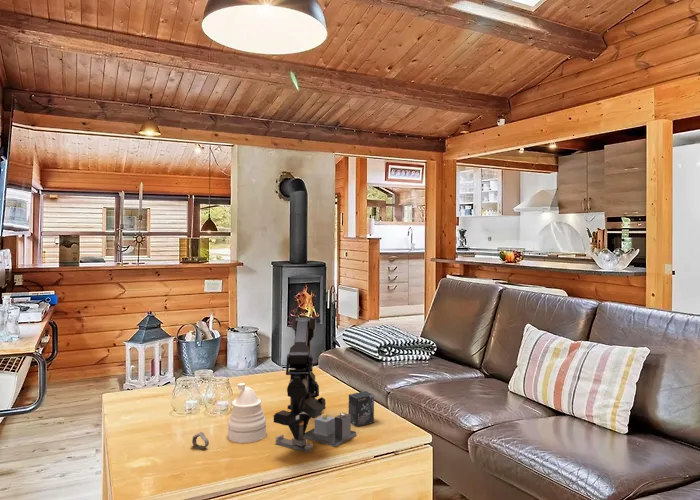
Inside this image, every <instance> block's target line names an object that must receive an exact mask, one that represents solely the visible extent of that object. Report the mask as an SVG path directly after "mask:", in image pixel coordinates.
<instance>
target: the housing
mask: <svg viewBox="0 0 700 500" xmlns="http://www.w3.org/2000/svg"><path fill="white" fill-rule="evenodd" d="M314 428H315V432H316V433H319V434H323V435H328V434H330V433H332V432H333V431H335V417H333V416H329V415H328V413H323V412H322V414H321V415H320V416H317V417H316V418H314Z"/></svg>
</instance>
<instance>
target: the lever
mask: <svg viewBox="0 0 700 500" xmlns="http://www.w3.org/2000/svg"><path fill="white" fill-rule="evenodd" d="M303 424H304V421H303V420H302V422H301V423H300V424H299V435H298V439H297V440H296V439H295V438H294V437H293V438H291V440H292V444H295V445H298V446H301V447H302V446H304V445H307V439H305V438H303Z"/></svg>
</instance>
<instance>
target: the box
mask: <svg viewBox="0 0 700 500" xmlns="http://www.w3.org/2000/svg"><path fill="white" fill-rule="evenodd" d="M348 414H350V415H351V426H354V427H355V428H357V427H361V426H366V425H369V424H370V425H371V424H374V423H375V421H374V420H375V395H374V394H373V393H372V392H368V391H366V390H365V391H359V392H355V393H354V392H353V393H350V394H348Z"/></svg>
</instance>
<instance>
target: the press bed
mask: <svg viewBox="0 0 700 500" xmlns="http://www.w3.org/2000/svg"><path fill="white" fill-rule="evenodd" d="M334 418H335V431H333V432H332V433H330V434H328V435H323V434H319V433H316V432H315V427H314V428H311V429H310V430H307V431H305V434H304V436H303V438H304V439H306V440H308V441H309V440H310V441H312V442H316V443H320V444H324V445H327V446H329V447H333V448H337V447H339V446H340V445H342V444H345V442H347V441H350V440H351V439H353V438H354V437H356V436H357V431H354V430H352V429H351V426H352V424H351V415H350V414H349V413H346V412H343V411H342V412H340V413H339V414H338V415H336V416H335V417H334Z"/></svg>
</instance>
